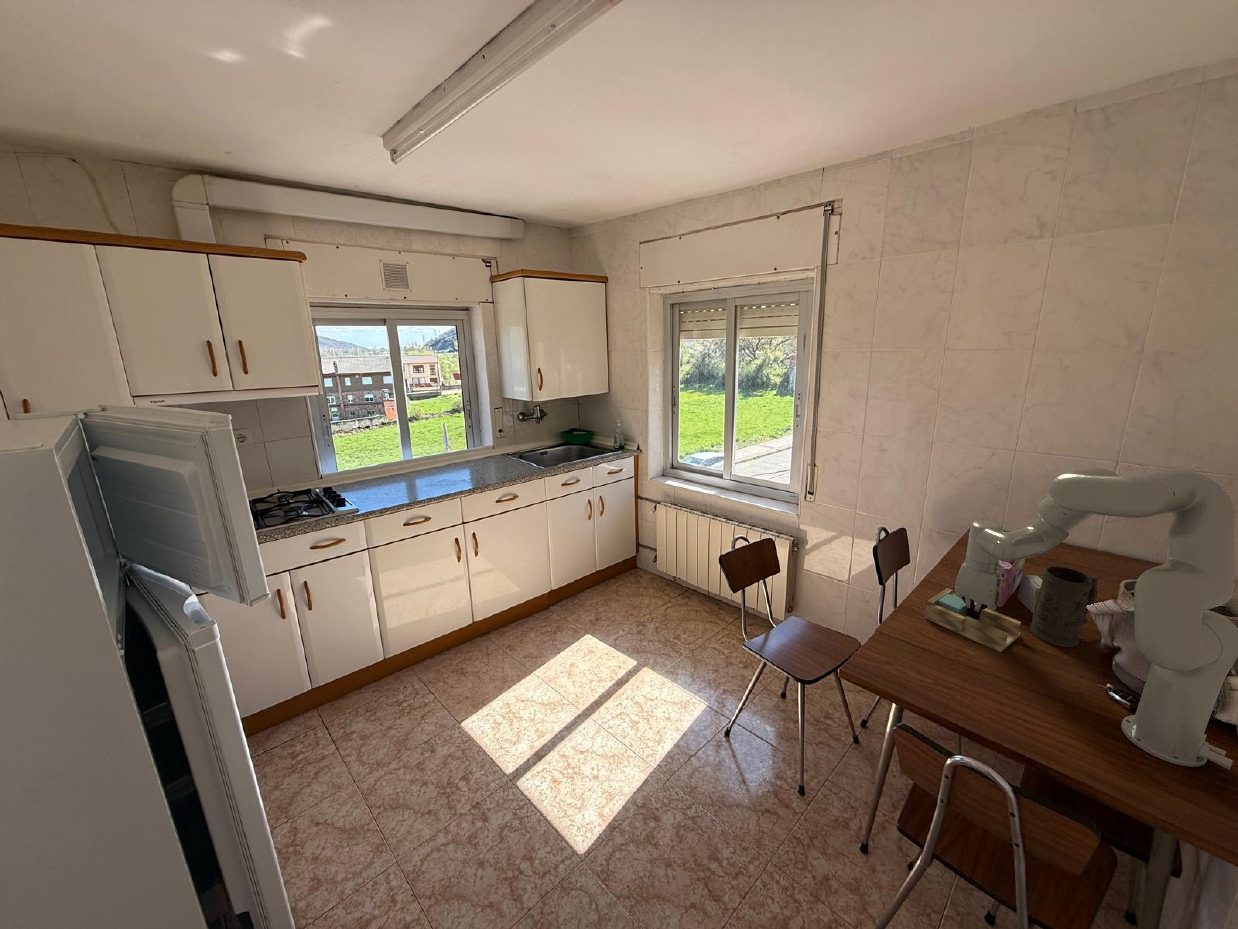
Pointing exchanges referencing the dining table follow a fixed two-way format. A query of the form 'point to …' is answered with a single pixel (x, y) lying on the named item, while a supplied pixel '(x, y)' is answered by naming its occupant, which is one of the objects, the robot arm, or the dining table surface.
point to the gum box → (1010, 579)
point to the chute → (975, 624)
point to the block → (953, 604)
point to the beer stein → (1063, 605)
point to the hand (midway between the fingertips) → (972, 619)
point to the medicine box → (1029, 590)
